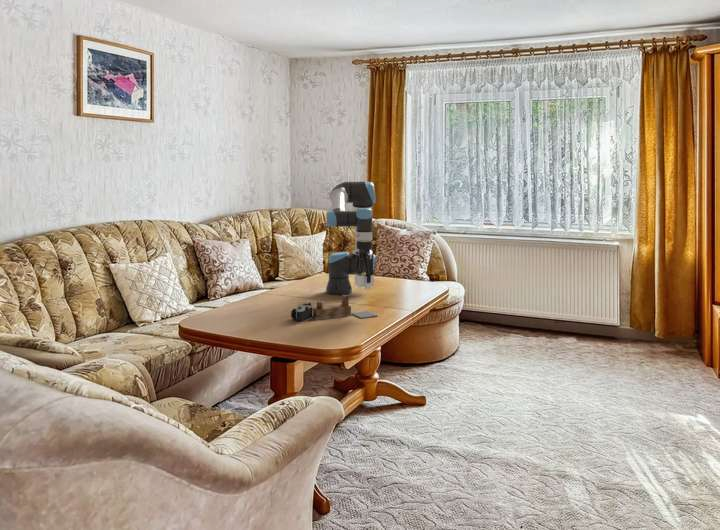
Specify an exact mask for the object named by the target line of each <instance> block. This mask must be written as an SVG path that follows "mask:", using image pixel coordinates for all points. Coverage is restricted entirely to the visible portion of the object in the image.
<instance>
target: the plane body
mask: <svg viewBox="0 0 720 530" xmlns="http://www.w3.org/2000/svg"><path fill="white" fill-rule="evenodd" d="M349 298H350V297H349V295H348V294H343V295H341V304H336V305H328V306H323V302H324V301H317V302H316V306H315V307H312V316H313V317H312V319H315V320H323V319H333V318H339V317H347V316H353V315H352V306H351V305H349V304H350V303H349V301H350V299H349Z"/></svg>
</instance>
